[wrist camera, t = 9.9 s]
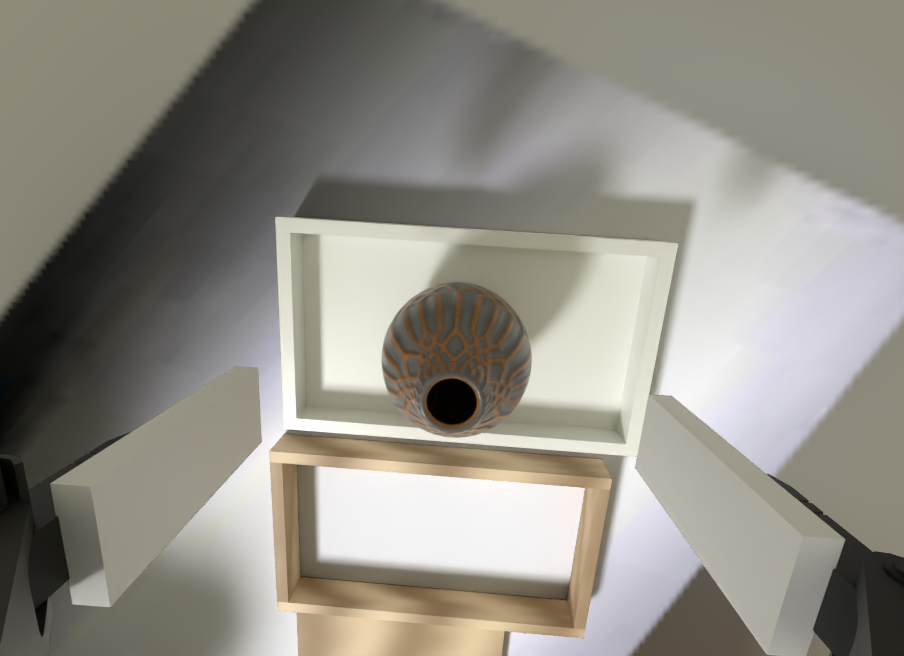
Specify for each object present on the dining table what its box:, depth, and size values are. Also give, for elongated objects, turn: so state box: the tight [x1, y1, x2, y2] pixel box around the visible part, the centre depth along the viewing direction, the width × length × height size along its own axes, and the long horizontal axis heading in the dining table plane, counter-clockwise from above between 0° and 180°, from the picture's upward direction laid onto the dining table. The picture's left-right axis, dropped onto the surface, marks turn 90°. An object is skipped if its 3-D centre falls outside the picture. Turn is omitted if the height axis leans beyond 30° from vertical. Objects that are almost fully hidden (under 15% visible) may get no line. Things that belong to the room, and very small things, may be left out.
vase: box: [381, 282, 532, 438], centre depth 19 cm, size 7×7×9 cm
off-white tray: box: [275, 217, 678, 457], centre depth 23 cm, size 19×11×2 cm, turn 86°
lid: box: [297, 612, 505, 656], centre depth 30 cm, size 14×6×1 cm, turn 86°
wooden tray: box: [269, 434, 612, 638], centre depth 26 cm, size 19×11×2 cm, turn 86°
